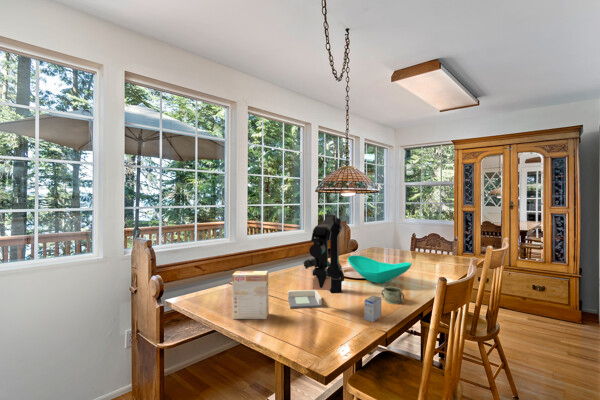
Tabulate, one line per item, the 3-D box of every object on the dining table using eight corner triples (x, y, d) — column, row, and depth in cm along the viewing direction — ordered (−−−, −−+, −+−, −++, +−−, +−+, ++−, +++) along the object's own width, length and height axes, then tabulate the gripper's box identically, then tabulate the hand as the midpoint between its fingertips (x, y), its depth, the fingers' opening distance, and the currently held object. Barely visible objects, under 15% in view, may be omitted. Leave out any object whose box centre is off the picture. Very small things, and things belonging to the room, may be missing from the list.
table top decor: (338, 281, 191) (338, 259, 191) (359, 272, 213) (359, 252, 212) (402, 293, 167) (402, 269, 166) (418, 282, 188) (418, 260, 188)
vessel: (377, 301, 156) (377, 288, 155) (384, 296, 163) (384, 284, 162) (401, 306, 148) (401, 293, 148) (407, 301, 155) (407, 289, 155)
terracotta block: (330, 287, 146) (330, 276, 146) (329, 290, 142) (329, 279, 142) (314, 286, 148) (314, 275, 148) (312, 289, 144) (312, 278, 143)
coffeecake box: (268, 313, 140) (268, 270, 140) (266, 319, 133) (266, 274, 133) (236, 312, 141) (235, 270, 140) (232, 319, 134) (231, 274, 133)
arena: (316, 297, 161) (316, 289, 161) (321, 307, 147) (321, 298, 147) (288, 298, 160) (288, 290, 160) (290, 308, 146) (290, 300, 146)
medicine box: (372, 314, 139) (372, 295, 139) (381, 316, 136) (381, 297, 136) (364, 319, 133) (364, 299, 133) (373, 322, 130) (373, 302, 130)
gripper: (308, 248, 155) (308, 279, 156) (301, 256, 137) (301, 291, 137) (330, 249, 153) (330, 280, 154) (326, 257, 135) (326, 293, 135)
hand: (321, 286), depth 145 cm, fingers closed on terracotta block, 4 cm apart
